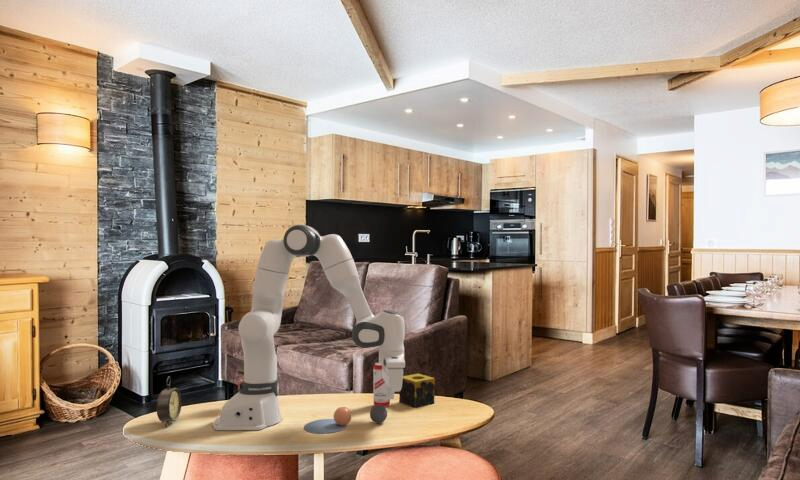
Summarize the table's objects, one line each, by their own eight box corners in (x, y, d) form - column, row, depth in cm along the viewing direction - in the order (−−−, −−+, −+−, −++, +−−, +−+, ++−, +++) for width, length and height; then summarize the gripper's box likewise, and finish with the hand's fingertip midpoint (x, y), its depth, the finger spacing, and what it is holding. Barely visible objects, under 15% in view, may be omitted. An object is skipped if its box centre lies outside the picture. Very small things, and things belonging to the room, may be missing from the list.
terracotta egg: (355, 421, 165) (339, 431, 163) (353, 416, 170) (338, 425, 169) (346, 406, 164) (330, 416, 163) (345, 401, 170) (330, 410, 169)
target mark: (304, 435, 157) (304, 434, 157) (304, 421, 171) (304, 420, 171) (348, 431, 160) (348, 431, 160) (344, 418, 174) (344, 417, 174)
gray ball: (392, 413, 167) (381, 429, 166) (388, 408, 173) (378, 423, 172) (378, 404, 166) (367, 419, 165) (375, 399, 172) (365, 413, 171)
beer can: (389, 408, 185) (389, 365, 186) (372, 408, 185) (372, 365, 186) (390, 403, 191) (389, 361, 192) (374, 403, 192) (373, 362, 192)
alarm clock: (169, 429, 164) (170, 380, 165) (153, 429, 164) (153, 380, 164) (182, 418, 175) (182, 372, 176) (166, 419, 175) (167, 372, 175)
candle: (398, 402, 193) (398, 376, 193) (418, 398, 199) (418, 373, 199) (414, 408, 185) (414, 381, 185) (435, 403, 191) (434, 377, 191)
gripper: (378, 352, 180) (377, 390, 180) (387, 364, 160) (386, 407, 160) (395, 351, 181) (394, 389, 181) (406, 363, 161) (405, 406, 161)
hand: (390, 398), depth 170 cm, fingers closed
